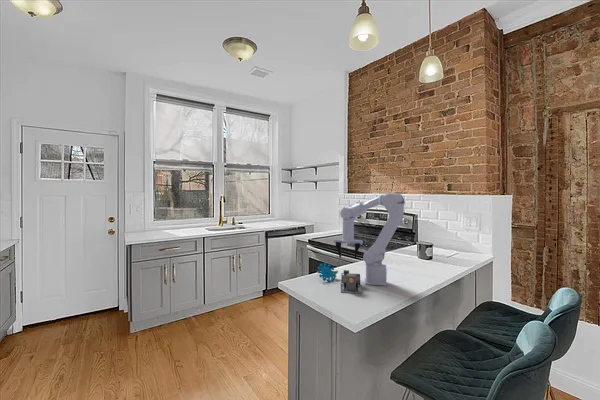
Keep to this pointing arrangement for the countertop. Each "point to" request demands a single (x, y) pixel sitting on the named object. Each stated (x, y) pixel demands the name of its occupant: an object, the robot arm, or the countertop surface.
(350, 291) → the motor mount
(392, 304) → the countertop surface
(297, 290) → the countertop surface
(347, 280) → the grey knobbed block
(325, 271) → the gear
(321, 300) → the countertop surface
